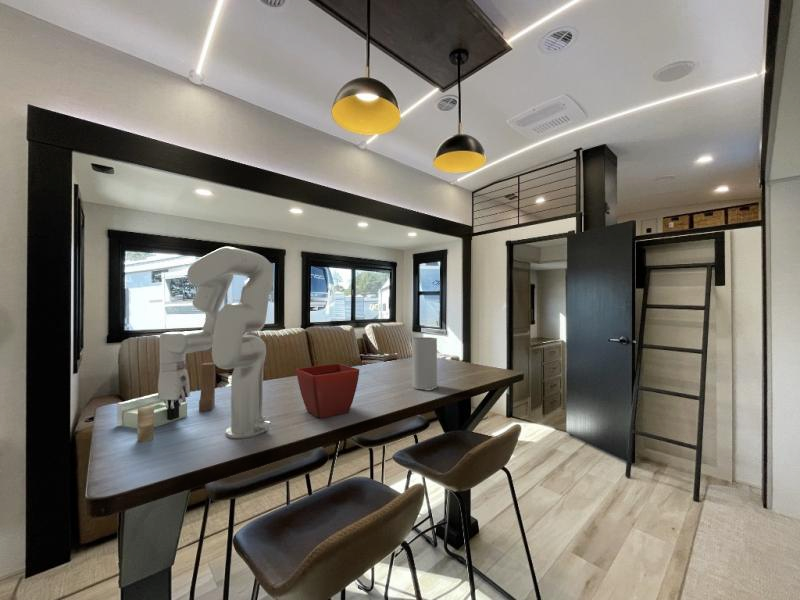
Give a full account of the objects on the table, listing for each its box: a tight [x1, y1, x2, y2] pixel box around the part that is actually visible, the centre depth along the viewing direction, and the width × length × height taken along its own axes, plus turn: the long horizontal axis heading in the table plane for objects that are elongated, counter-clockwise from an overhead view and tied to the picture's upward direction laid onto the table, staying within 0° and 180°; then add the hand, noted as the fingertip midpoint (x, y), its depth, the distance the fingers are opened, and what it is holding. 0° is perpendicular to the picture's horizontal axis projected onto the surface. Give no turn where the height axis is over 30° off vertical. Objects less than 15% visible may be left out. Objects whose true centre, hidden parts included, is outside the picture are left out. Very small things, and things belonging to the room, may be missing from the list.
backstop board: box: [116, 392, 161, 428], centre depth 119 cm, size 2×15×8 cm, turn 163°
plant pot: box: [295, 363, 360, 419], centre depth 128 cm, size 19×19×17 cm
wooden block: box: [198, 362, 216, 413], centre depth 132 cm, size 9×4×18 cm, turn 24°
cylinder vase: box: [411, 336, 438, 390], centre depth 165 cm, size 12×12×25 cm
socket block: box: [123, 402, 188, 429], centre depth 117 cm, size 12×14×5 cm
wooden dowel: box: [136, 406, 155, 443], centre depth 101 cm, size 4×4×10 cm
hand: (173, 418), depth 115 cm, fingers closed
